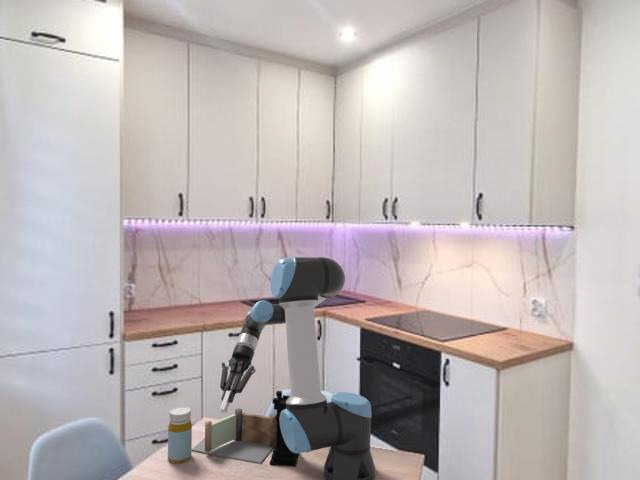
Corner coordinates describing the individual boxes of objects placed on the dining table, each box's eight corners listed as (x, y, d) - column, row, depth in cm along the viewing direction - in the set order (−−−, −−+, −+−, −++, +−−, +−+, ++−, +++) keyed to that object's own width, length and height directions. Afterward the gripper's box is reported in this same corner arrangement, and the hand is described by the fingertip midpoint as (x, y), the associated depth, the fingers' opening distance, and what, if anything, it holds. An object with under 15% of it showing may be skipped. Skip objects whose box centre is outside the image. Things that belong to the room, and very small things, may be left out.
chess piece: (299, 453, 142) (300, 391, 142) (295, 466, 134) (297, 401, 134) (274, 451, 143) (276, 390, 142) (269, 464, 135) (270, 400, 134)
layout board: (279, 439, 151) (279, 438, 151) (260, 463, 136) (260, 462, 136) (216, 429, 158) (216, 427, 158) (191, 450, 142) (191, 449, 142)
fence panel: (232, 437, 149) (233, 410, 149) (236, 439, 148) (237, 412, 147) (203, 450, 140) (203, 422, 140) (207, 452, 139) (207, 424, 138)
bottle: (191, 451, 142) (191, 405, 141) (191, 462, 135) (192, 414, 135) (167, 454, 140) (168, 407, 139) (167, 465, 133) (168, 416, 133)
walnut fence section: (278, 444, 147) (278, 414, 147) (275, 447, 145) (276, 417, 144) (236, 437, 151) (237, 408, 151) (233, 440, 149) (233, 410, 149)
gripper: (264, 355, 166) (244, 418, 151) (232, 352, 170) (209, 413, 154) (258, 345, 161) (237, 408, 145) (225, 341, 164) (201, 403, 149)
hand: (223, 410), depth 150 cm, fingers closed
